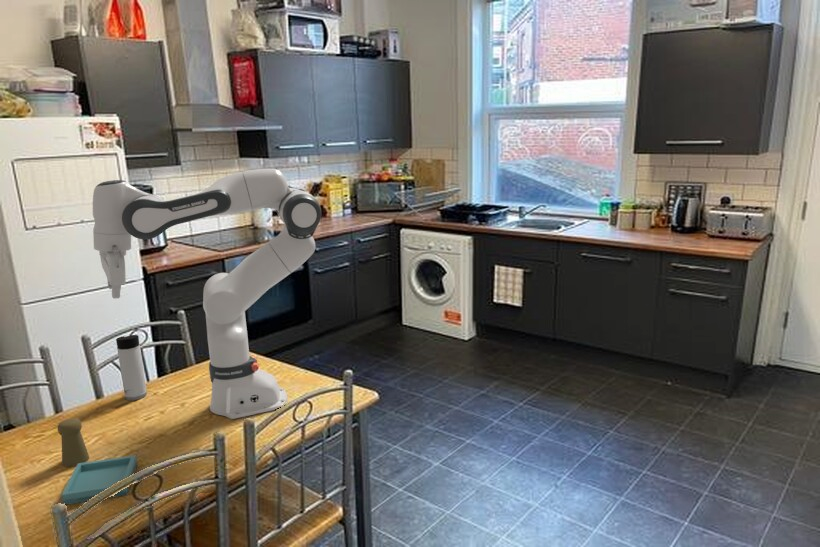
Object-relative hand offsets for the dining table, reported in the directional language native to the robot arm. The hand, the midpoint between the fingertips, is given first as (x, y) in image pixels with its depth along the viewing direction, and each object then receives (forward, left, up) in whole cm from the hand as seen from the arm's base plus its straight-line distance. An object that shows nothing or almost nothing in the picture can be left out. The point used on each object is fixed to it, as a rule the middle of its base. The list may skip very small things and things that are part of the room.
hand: (113, 292), depth 159 cm
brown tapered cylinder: (+10, +18, -38) cm, 43 cm away
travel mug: (+2, -17, -38) cm, 42 cm away
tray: (+1, +31, -38) cm, 49 cm away
